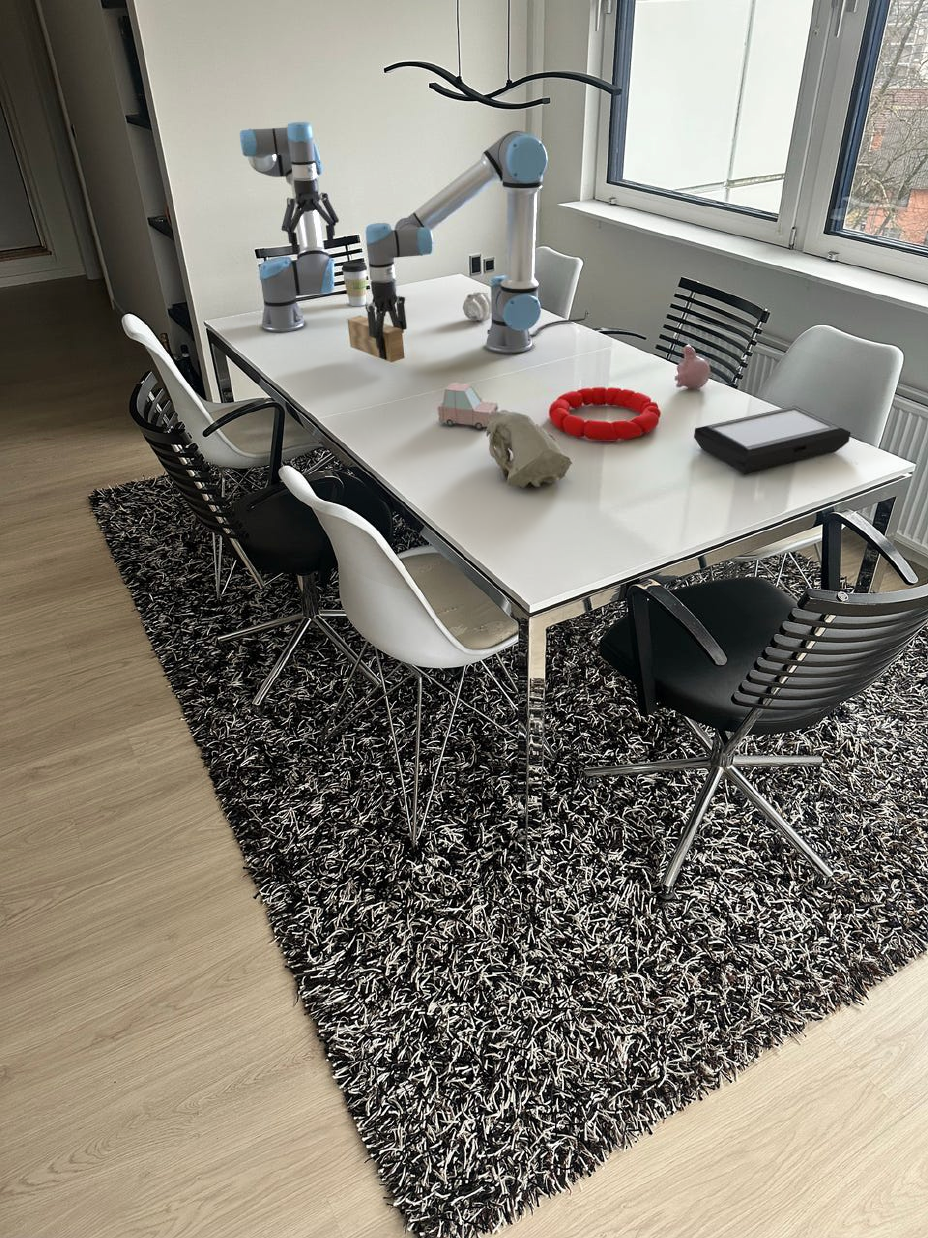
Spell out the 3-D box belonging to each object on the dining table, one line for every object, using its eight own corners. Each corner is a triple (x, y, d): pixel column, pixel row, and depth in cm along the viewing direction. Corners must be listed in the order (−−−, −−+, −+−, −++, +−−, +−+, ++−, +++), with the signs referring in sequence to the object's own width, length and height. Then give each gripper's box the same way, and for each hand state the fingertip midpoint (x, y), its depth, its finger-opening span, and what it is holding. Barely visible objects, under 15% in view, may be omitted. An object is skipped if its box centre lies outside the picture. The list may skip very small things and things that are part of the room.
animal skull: (496, 517, 219) (521, 479, 201) (463, 429, 225) (484, 384, 207) (557, 503, 225) (586, 465, 206) (523, 417, 231) (549, 373, 212)
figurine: (665, 387, 264) (669, 347, 257) (693, 380, 268) (698, 340, 261) (686, 396, 257) (690, 355, 250) (714, 388, 262) (720, 348, 255)
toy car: (488, 432, 240) (488, 396, 234) (436, 426, 244) (434, 390, 239) (499, 419, 247) (499, 384, 241) (448, 413, 252) (447, 379, 246)
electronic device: (746, 454, 209) (695, 425, 224) (742, 478, 212) (692, 448, 228) (851, 429, 219) (795, 402, 234) (846, 452, 223) (791, 425, 238)
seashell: (455, 320, 326) (454, 292, 321) (490, 313, 332) (490, 286, 326) (468, 327, 319) (468, 298, 313) (504, 320, 325) (504, 292, 319)
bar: (350, 346, 292) (347, 319, 287) (363, 343, 295) (360, 315, 289) (391, 362, 277) (388, 333, 272) (404, 357, 280) (402, 329, 275)
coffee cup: (368, 306, 344) (365, 266, 336) (343, 307, 345) (339, 267, 336) (371, 300, 352) (368, 260, 344) (346, 300, 353) (342, 260, 344)
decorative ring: (589, 435, 224) (684, 402, 234) (527, 398, 247) (617, 369, 256) (589, 461, 229) (683, 427, 238) (529, 422, 251) (617, 393, 260)
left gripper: (276, 185, 270) (286, 258, 282) (345, 174, 283) (351, 245, 295) (264, 182, 275) (274, 254, 287) (332, 172, 288) (339, 242, 300)
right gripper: (365, 288, 260) (374, 366, 274) (414, 275, 270) (420, 351, 283) (350, 283, 265) (360, 360, 279) (399, 271, 275) (406, 346, 288)
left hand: (313, 250), depth 291 cm, fingers open, 13 cm apart
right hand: (390, 355), depth 281 cm, fingers closed on bar, 5 cm apart
